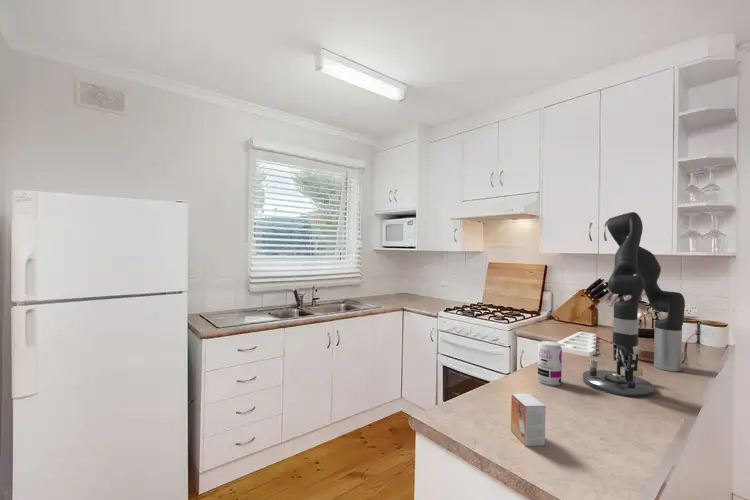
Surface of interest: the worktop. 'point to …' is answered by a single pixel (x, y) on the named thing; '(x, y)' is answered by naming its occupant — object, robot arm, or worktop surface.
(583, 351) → the holder
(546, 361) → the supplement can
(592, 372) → the knob
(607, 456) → the worktop surface
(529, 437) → the small box
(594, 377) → the base
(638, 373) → the knob
